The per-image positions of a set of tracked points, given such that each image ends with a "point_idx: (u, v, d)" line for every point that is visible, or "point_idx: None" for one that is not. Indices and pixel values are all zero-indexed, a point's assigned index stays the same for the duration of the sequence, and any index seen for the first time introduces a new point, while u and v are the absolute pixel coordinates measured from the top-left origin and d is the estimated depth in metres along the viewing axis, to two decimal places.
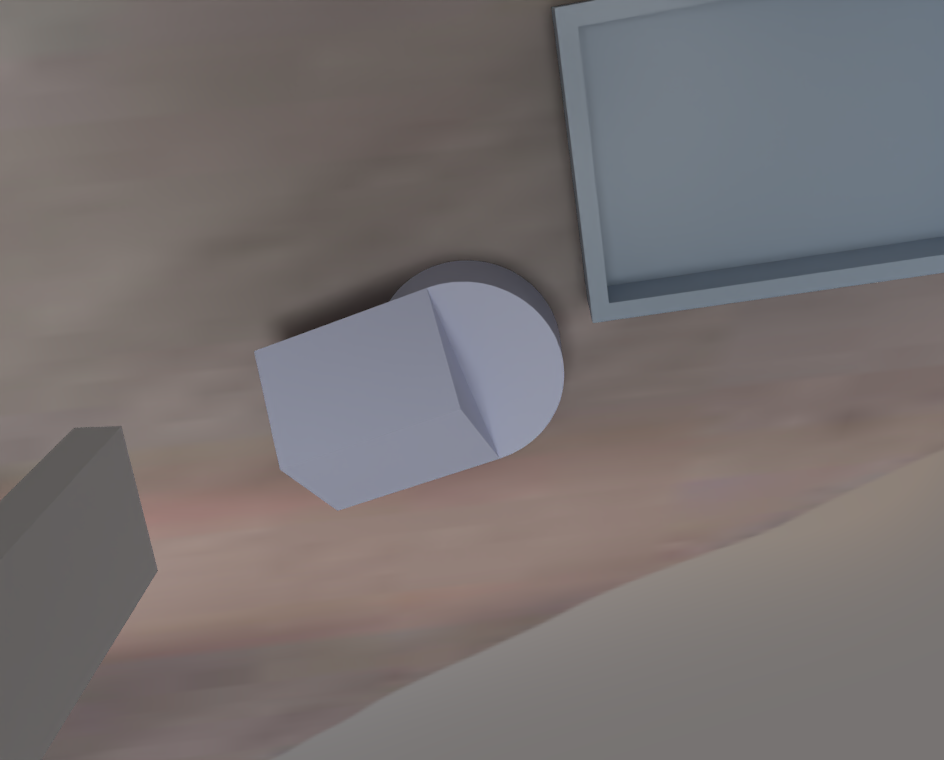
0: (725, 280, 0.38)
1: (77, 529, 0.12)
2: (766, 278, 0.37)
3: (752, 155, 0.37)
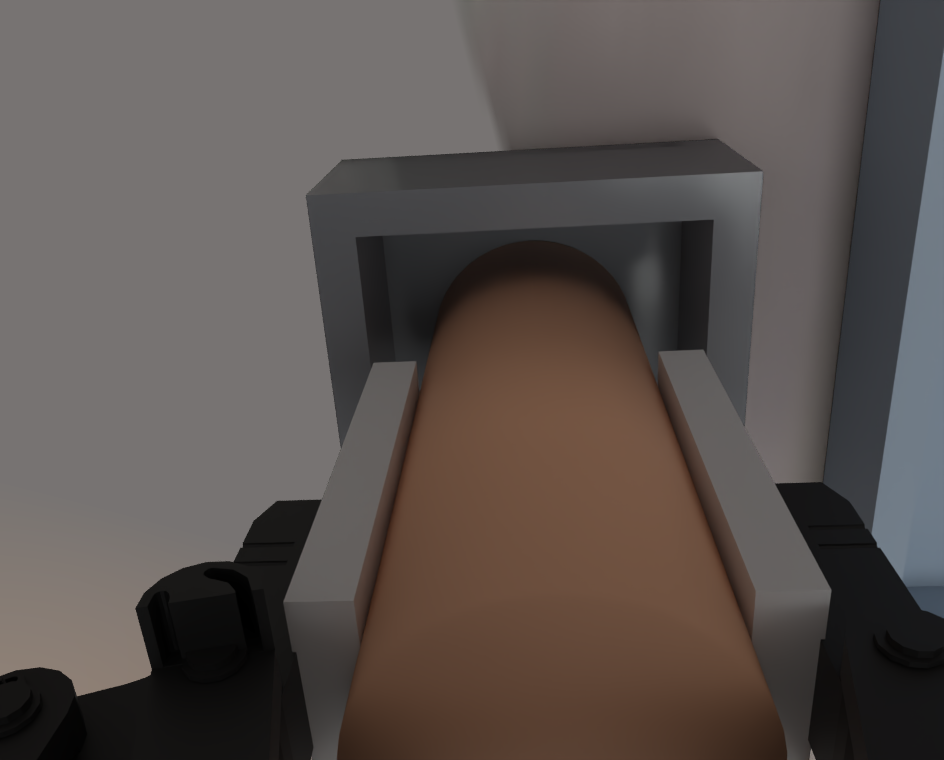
0: None
1: None
2: None
3: None
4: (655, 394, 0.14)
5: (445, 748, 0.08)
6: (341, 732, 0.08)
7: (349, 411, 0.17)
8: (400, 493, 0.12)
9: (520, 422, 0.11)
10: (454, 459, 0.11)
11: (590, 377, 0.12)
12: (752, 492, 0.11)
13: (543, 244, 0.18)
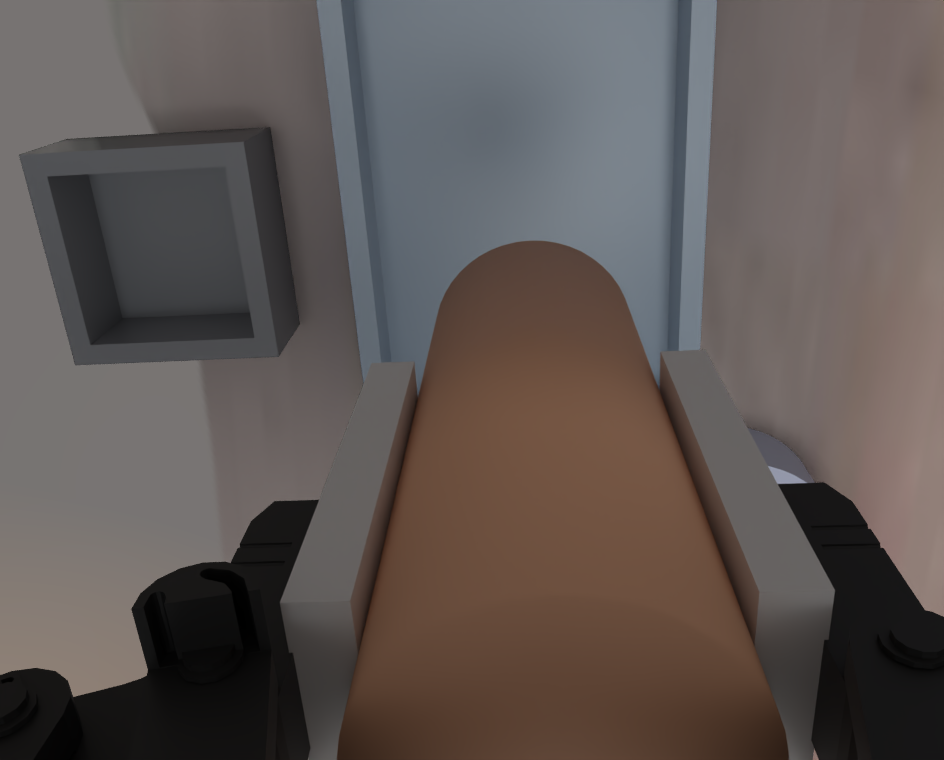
0: (677, 277, 0.33)
1: (405, 445, 0.14)
2: (681, 238, 0.31)
3: (543, 227, 0.34)
4: (655, 394, 0.13)
5: (445, 748, 0.08)
6: (341, 733, 0.08)
7: (57, 272, 0.32)
8: (400, 493, 0.11)
9: (521, 421, 0.11)
10: (454, 459, 0.11)
11: (591, 377, 0.12)
12: (755, 492, 0.11)
13: (542, 243, 0.18)
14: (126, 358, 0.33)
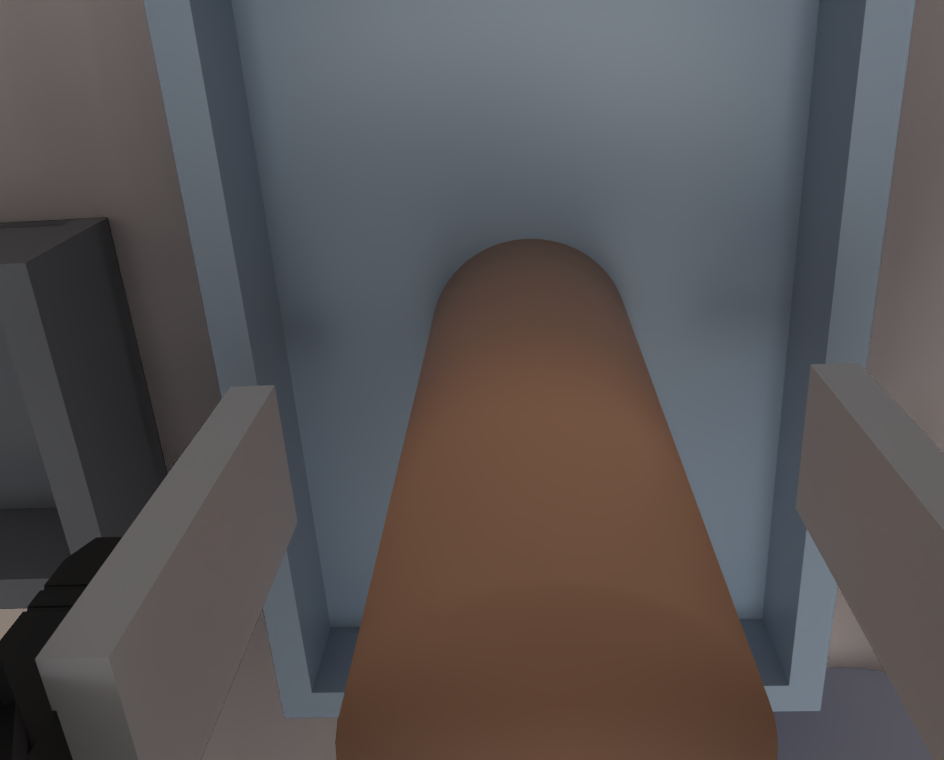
0: None
1: (250, 475, 0.13)
2: None
3: None
4: (650, 389, 0.14)
5: (442, 733, 0.09)
6: (340, 718, 0.09)
7: None
8: (398, 486, 0.12)
9: (516, 415, 0.11)
10: (451, 451, 0.11)
11: (586, 372, 0.12)
12: None
13: (539, 241, 0.19)
14: None
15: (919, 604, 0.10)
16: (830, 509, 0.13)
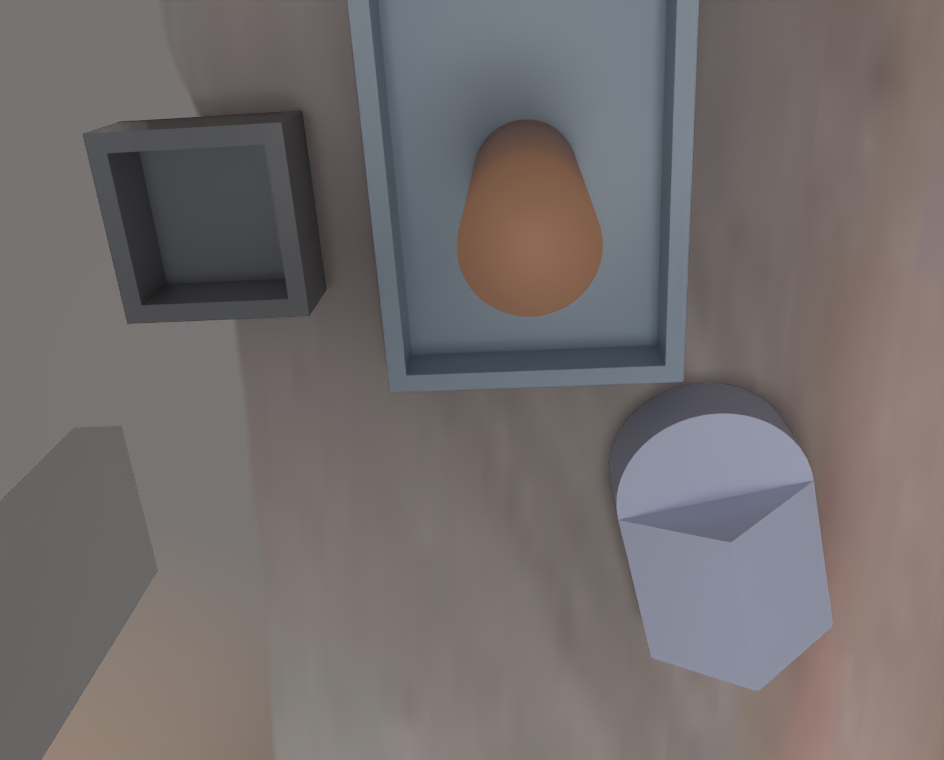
0: (666, 245, 0.36)
1: (77, 529, 0.12)
2: (669, 209, 0.35)
3: None
4: (576, 166, 0.31)
5: (492, 236, 0.26)
6: (459, 230, 0.26)
7: (114, 239, 0.36)
8: (470, 189, 0.29)
9: (517, 155, 0.28)
10: (492, 167, 0.28)
11: (546, 149, 0.30)
12: None
13: (530, 120, 0.36)
14: (173, 317, 0.37)
15: None
16: None
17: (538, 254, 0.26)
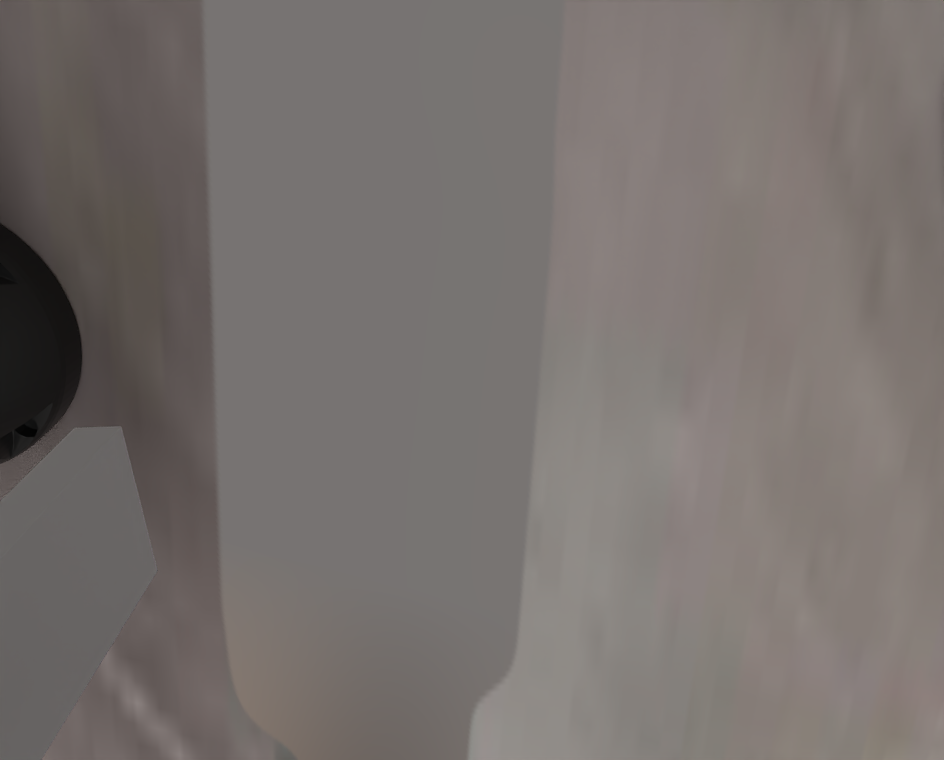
0: None
1: (77, 529, 0.12)
2: None
3: None
4: None
5: None
6: None
7: None
8: None
9: None
10: None
11: None
12: None
13: None
14: None
15: None
16: None
17: None
